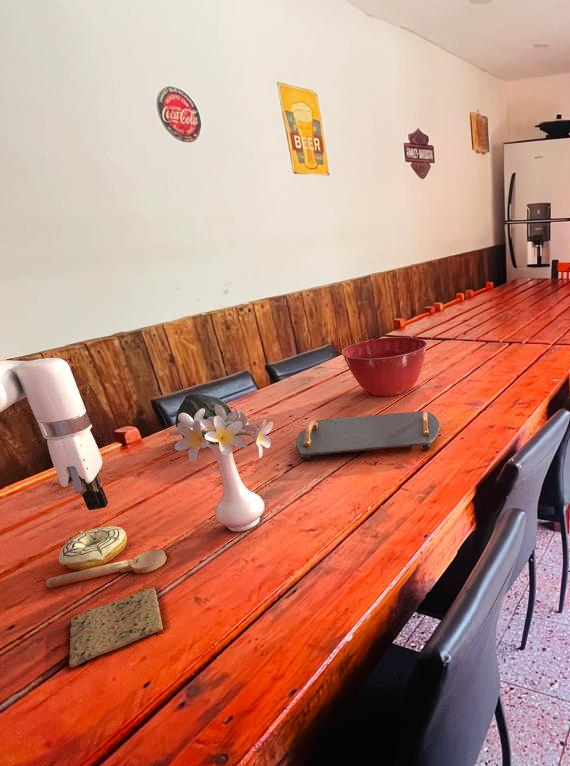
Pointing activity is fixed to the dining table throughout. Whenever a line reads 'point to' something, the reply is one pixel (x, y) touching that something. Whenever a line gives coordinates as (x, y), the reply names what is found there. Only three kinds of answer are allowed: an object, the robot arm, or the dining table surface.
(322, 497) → the dining table surface
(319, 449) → the serving tray
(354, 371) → the mixing bowl
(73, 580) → the spoon
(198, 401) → the squash
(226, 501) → the flower vase
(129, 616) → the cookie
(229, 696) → the dining table surface
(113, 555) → the decorated donut
